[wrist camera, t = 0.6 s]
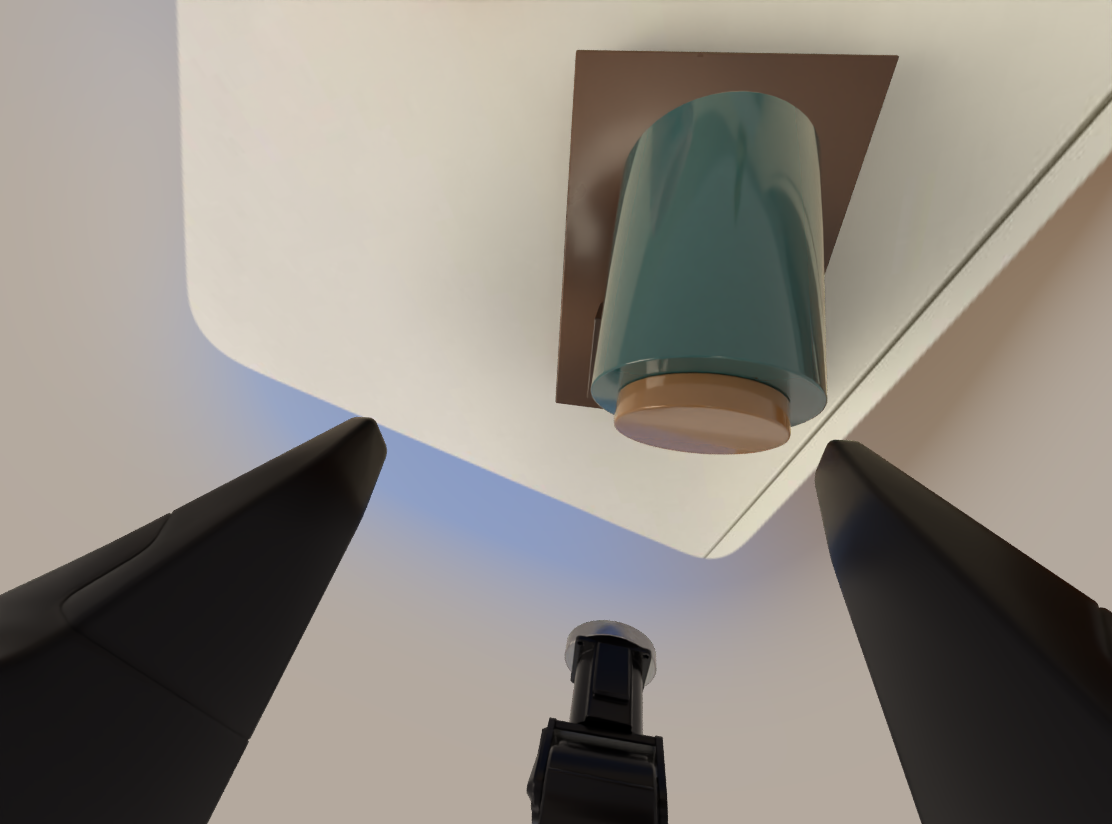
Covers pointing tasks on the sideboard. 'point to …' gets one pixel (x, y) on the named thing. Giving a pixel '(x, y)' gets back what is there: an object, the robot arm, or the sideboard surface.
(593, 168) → the stand
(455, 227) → the sideboard surface
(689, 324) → the jar
